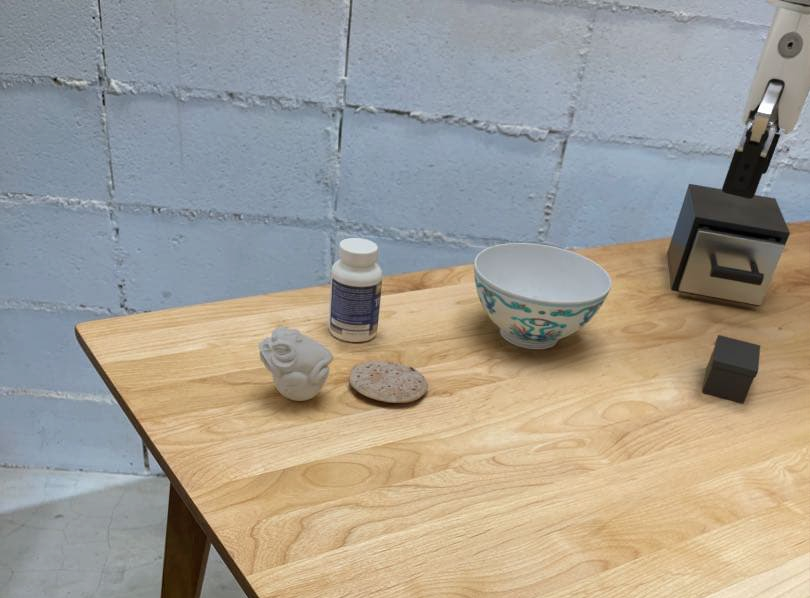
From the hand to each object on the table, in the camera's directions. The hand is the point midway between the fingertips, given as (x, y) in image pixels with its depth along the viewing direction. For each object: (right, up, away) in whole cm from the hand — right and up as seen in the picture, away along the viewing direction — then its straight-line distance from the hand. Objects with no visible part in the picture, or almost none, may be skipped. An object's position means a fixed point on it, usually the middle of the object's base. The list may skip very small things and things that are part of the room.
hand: (744, 182), depth 88 cm
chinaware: (-21, -14, +8) cm, 27 cm away
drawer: (+5, -4, +22) cm, 23 cm away
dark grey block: (-1, -20, +4) cm, 21 cm away
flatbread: (-37, -22, -4) cm, 44 cm away
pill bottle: (-41, -15, +5) cm, 44 cm away
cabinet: (+6, -2, +27) cm, 27 cm away
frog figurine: (-46, -24, -7) cm, 52 cm away
